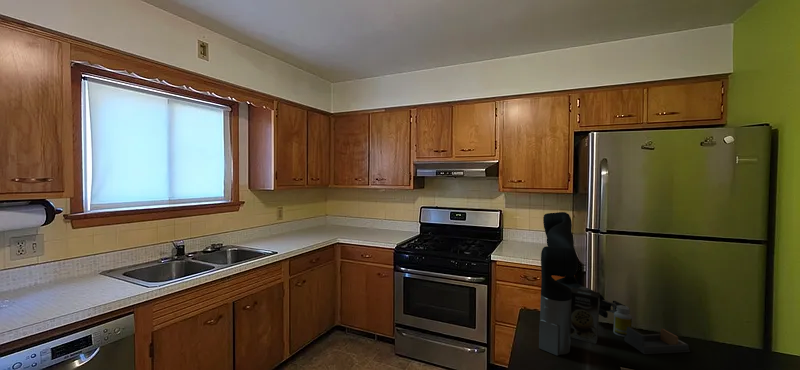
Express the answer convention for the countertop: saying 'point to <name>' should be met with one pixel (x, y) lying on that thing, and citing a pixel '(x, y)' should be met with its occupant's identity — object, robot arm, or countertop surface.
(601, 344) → the countertop surface
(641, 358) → the countertop surface
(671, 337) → the pusher
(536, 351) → the countertop surface
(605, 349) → the countertop surface
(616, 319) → the supplement bottle
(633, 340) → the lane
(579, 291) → the coffee box
